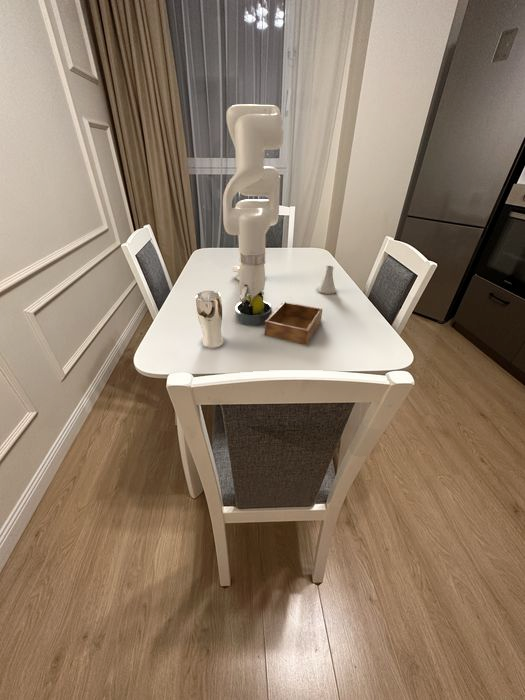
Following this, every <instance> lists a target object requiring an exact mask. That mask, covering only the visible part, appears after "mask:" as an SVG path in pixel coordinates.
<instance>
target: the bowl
mask: <svg viewBox="0 0 525 700" xmlns="http://www.w3.org/2000/svg"><path fill="white" fill-rule="evenodd" d="M263 301H264V300H263ZM234 310H235V311H234V312H235V320H236V321H237V322H238V323H239V324H242V325H246V326H252V327H254V326H261V325H265V321H266V320H267V319H268V318H269V316H270V315H271V314H272V313H273V306H272V304H271V303H269V302H268V301H264V309H263V311H262V312H261V313H260V314H258V315H247V314H244V311H243V304H242V302H241V301H240V302H238V303H237V304H236V305H235V307H234Z"/></svg>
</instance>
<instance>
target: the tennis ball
mask: <svg viewBox="0 0 525 700" xmlns="http://www.w3.org/2000/svg"><path fill="white" fill-rule="evenodd" d="M247 295H248V296H251V295H250V294H247ZM246 300H248V301H249V300H250V298H246ZM252 305H253V315H258V314H260V313H261V312H262V311H263V309H264V298H263V299H262V297H261V296H259V295H256V296H255V297H253V301H252Z"/></svg>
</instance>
